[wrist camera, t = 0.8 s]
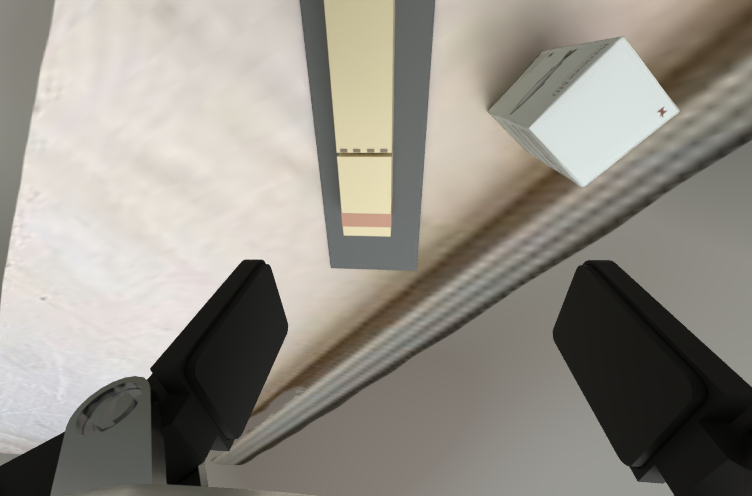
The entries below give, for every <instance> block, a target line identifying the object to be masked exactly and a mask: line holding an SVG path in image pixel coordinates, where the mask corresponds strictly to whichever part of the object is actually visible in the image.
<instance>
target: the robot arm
mask: <svg viewBox="0 0 752 496" xmlns="http://www.w3.org/2000/svg"><path fill="white" fill-rule="evenodd" d="M287 331H288V322H287V319H286V316H285V312H284V309H283V306H282V302H281V299H280V296H279V292H278V289H277V286H276V283H275V279H274V276H273V273H272V269H271V267H270V265H269V264H266V263H265V262H264V260H243V261H242V262H241V263H240V264H239V265H238V267H237V268H236V269H235V270H234V271H233V272H232V274H231V275H230V276H229V277H228V278H227V279H226V281H225V282H224V283H223V284H222V285H221V286H220V288H219V289H218V290H217V291H216V292H215V293H214V295H213V296H212V297H211V298H210V299H209V300H208V302H207V303H206V304H205V305H204V306H203V307H202V309H201V310H200V311H199V312H198V313H197V314H196V316H195V317H194V318H193V319H192V320H191V321H190V323H189V324H188V325H187V326H186V327H185V328H184V330H183V331H182V332H181V333H180V334H179V336H178V337H177V338H176V339H175V340H174V341H173V343H172V344H171V345H170V346H169V347H168V348H167V350H166V351H165V352H164V353H163V354H162V355H161V357H160V358H159V359H158V360H157V361H156V362H155V364H154V365H153V366H152V367H151V368H150V370H151V371H152V375H151V376H150V377H149V378H148V379H147V380H146V379H145V378H143V377H137V376H133V377H127V378H123V379H120V380H117V381H115V382H112V383H110V384H108V385H107V386H105V387H103V388H101V389H100V390H98V391H97V392H95V393H94V394H93V395H91V396H90V397H89V398H88V399H86V400H85V401H84V402H83V403H82V404H81V405H80V406H79V407H78V408H77V410H76V411H75V412H74V414H73V415H72V416H71V418H70V420H69V422H68V424H67V427H66V430H65V432H63V433H61V434H60V435H58V436H56V437H54V438H52V439H50V440H48V441H46V442H45V443H43V444H41V445H39V446H37V447H35V448H33V449H31V450H30V451H28V452H26V453H24V454H22V455H20V456H18V457H16V458H14V459H13V460H11V461H9V462H7V463H5V464H3V465H1V466H0V496H320V495H307V494H296V493H283V492H271V491H259V490H247V489H234V488H217V487H208V481H207V475H206V468H205V462H204V461H205V459H206V457H207V455H208V453H209V451H210V450H218V451H229V450H230V448H231V446H232V444H233V442H234V440H235V439H238V438H239V437H240V436H241V434H242V433H243V431H244V428H245V426H246V424H247V422H248V420H249V417H250V415H251V413H252V411H253V408H254V406H255V404H256V402H257V399H258V397H259V395H260V393H261V391H262V388H263V386H264V384H265V382H266V379H267V377H268V375H269V373H270V370H271V368H272V366H273V364H274V362H275V359H276V357H277V355H278V353H279V350H280V348H281V346H282V344H283V341H284V339H285V337H286V335H287ZM553 339H554V342H555V344H556V345H557V347H558V349H559V351H560V352H561V354H562V356H563V358H564V360H565V361H566V363H567V365H568V367H569V369H570V371H571V372H572V374H573V376H574V378H575V380H576V381H577V383H578V385H579V387H580V389H581V390H582V392H583V394H584V396H585V398H586V399H587V401H588V403H589V405H590V407H591V408H592V410H593V412H594V414H595V416H596V417H597V419H598V421H599V423H600V425H601V426H602V428H603V430H604V432H605V434H606V436H607V437H608V439H609V441H610V443H611V445H612V446H613V448H614V450H615V452H616V454H617V455H618V457H619V459H620V460H621V461H622V462H623V463H624V464H625V465H627V466H629V467H630V468H631V470H632V472H633V474H634V476H635V477H636V479H637V481H638V482H651V483H664V482H666V483H667V484H668V486H669V487H670V489H671V491H672V492H673V494H674V496H752V387H751V386H750V385H749V384H748V383H746V382H745V381H744V380H743V379H742V378H741V377H740V376H739V375H738V374H737V373H736V372H734V371H733V370H732V369H731V368H730V367H729V366H728V365H727V364H725V362H723V361H722V360H721V359H720V358H719V357H718V356H717V355H716V354H715V353H713V352H712V351H711V350H710V349H709V348H708V347H707V346H706V345H705V344H704V343H702V342H701V341H700V340H699V339H698V338H697V337H696V336H695V335H694V334H692V333H691V332H690V331H689V330H688V329H687V328H686V327H685V326H684V325H683V324H682V323H681V322H679V321H678V320H677V319H676V318H675V317H674V316H673V315H672V314H671V313H669V311H667V310H666V309H665V308H664V307H663V306H662V305H661V304H660V303H659V302H658V301H656V300H655V299H654V298H653V297H652V296H651V295H650V294H649V293H648V292H647V291H645V290H644V289H643V288H642V287H641V286H640V285H639V284H638V283H636V282H635V281H634V280H633V279H632V278H631V277H630V276H629V275H628V274H627V273H626V272H625V271H623V270H622V269H621V268H620V267H619V266H618V265H617V264H616V263H614V262H613V261H610V260H588V261H586V262H584V264H583V265H581V266H578V268H577V269H576V272H575V274H574V277H573V280H572V282H571V285H570V287H569V290H568V292H567V295H566V298H565V301H564V303H563V305H562V308H561V311H560V313H559V316H558V318H557V321H556V324H555V326H554V329H553Z"/></svg>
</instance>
